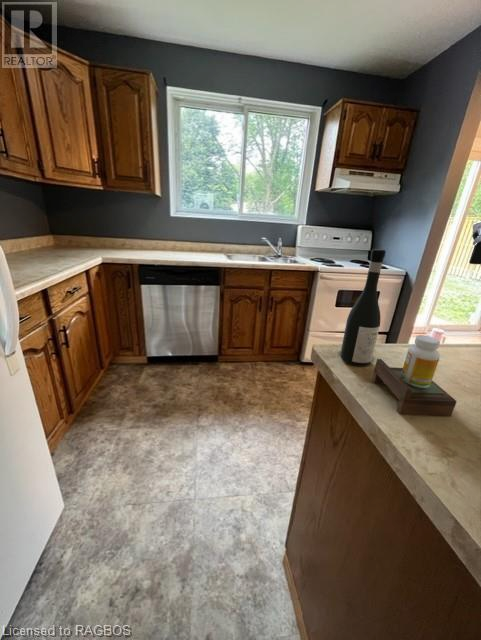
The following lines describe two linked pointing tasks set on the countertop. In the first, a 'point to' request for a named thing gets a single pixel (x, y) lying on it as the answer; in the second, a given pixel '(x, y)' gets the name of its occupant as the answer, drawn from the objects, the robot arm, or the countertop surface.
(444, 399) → the wooden jewelry box
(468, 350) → the countertop surface
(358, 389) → the countertop surface
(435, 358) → the supplement bottle
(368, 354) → the wine bottle
